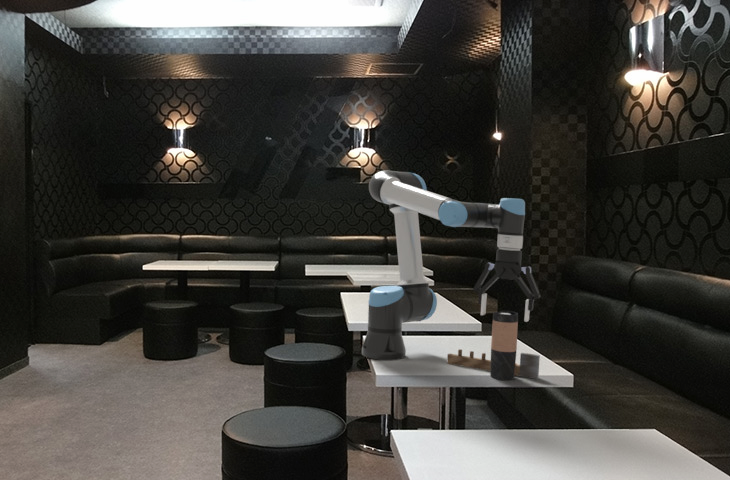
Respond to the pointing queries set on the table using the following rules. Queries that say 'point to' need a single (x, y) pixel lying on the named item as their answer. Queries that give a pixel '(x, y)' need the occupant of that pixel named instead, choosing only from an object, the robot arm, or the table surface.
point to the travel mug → (504, 345)
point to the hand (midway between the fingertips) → (504, 317)
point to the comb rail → (526, 367)
